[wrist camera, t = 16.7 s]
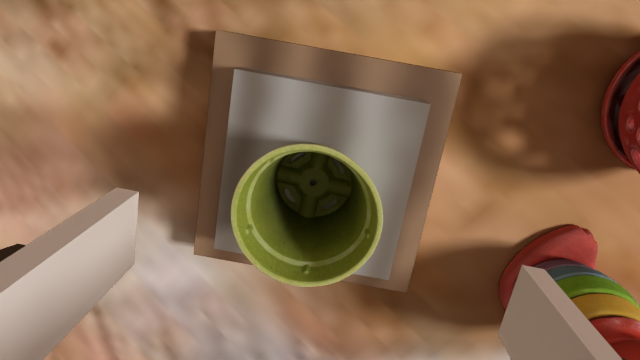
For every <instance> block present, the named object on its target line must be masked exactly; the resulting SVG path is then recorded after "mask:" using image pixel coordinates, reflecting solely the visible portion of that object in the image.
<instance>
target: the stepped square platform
mask: <svg viewBox="0 0 640 360" xmlns="http://www.w3.org/2000/svg"><path fill="white" fill-rule="evenodd" d="M461 78H462V74H460V73H456V72H451V71H446V70H440V69H434V68H429V67H423V66H418V65H412V64H406V63H401V62H395V61H390V60H384V59H378V58H373V57H367V56H362V55H356V54H350V53H345V52H339V51H334V50H328V49H322V48H317V47H311V46H306V45H300V44H294V43H289V42H283V41H278V40H272V39H266V38H261V37H255V36H250V35H244V34H238V33H233V32H227V31H220V30H216V34H215V44H214V54H213V64H212V74H211V84H210V94H209V104H208V115H207V125H206V135H205V145H204V155H203V165H202V175H201V185H200V195H199V205H198V215H197V225H196V235H195V245H194V254H195V255H200V256H206V257H211V258H217V259H222V260H228V261H233V262H239V263H244V264H250V265H253V264H252V263H251V262H250V261H249V259H248V258H247V257H246V256H245V255H244V253H243V252H242V250H241V249H240V247H239V245H238V243H237V241H236V239H235V236H234V233H233V229H232V225H231V204H232V199H233V195H234V192H235V189H236V187H237V184H238V182H239V181H240V179H241V177H242V176H243V174H244V173H245V172H246V170H247V169H248V168H249V167H250V166H251V165H252V164H253V163H254V162H255V161H256V160H258V159H259V158H260V157H262V156H263V155H265V154H266V153H268V152H270V151H272V150H274V149H277V148H279V147H282V146H286V145H291V144H300V143H308V144H321V145H325V146H329V147H331V148H333V149H335V150H337V151H339V152H341V153H343V154H345V155H346V156H348V157H349V158H351V159H352V160H353V161H355V162H356V163H357V164H358V165H359V166H360V167H361V168H362V169H363V170H364V171H365V172H366V173H367V174H368V176H369V177H370V178H371V180H372V182H373V183H374V185H375V187H376V189H377V191H378V194H379V197H380V200H381V204H382V209H383V226H382V232H381V236H380V239H379V241H378V244H377V246H376V248H375V250H374V252H373V254H372V255H371V256H370V258H369V259H368V260H367V261H366V263H365V264H364V265H362V266H361V267H360V268H359V269H358V270H357V271H356V272H354V273H353V274H351V275H350V276H348V277H346V278H344V279H342V280H340V281H344V282H349V283H355V284H360V285H366V286H371V287H377V288H382V289H388V290H393V291H399V292H404V293H407V290H408V286H409V282H410V278H411V274H412V270H413V266H414V262H415V258H416V254H417V250H418V247H419V243H420V239H421V235H422V231H423V227H424V223H425V219H426V215H427V211H428V207H429V203H430V200H431V196H432V192H433V188H434V184H435V180H436V176H437V172H438V168H439V164H440V160H441V156H442V153H443V149H444V145H445V141H446V137H447V133H448V129H449V125H450V121H451V117H452V113H453V109H454V106H455V102H456V98H457V94H458V90H459V86H460V82H461ZM304 155H305V153H302V152H300V153H299V154H297V155H296V156H294V157H293V158H292V159H291V163H293V162H294V161H295V160H297V159H298V158H300V157H302V156H304ZM333 162H334V163H335V164H336V166H337V167H338V169H339V171H340V173H341V174H343V173H344V169H343V167H342V166H341V164H340V162H339V161H338V160H336V159H333ZM310 183H311V185H316V184H317V181H316V180H315V179H314V180H311V182H310ZM285 194H286V196H287V197H288V199H289V200H291V201H292V202H296V201H295V200H294V198H293V197H292V196H291V194H290V192H289V190H288V189H285ZM336 203H337V200H336V199H334V200H333V201H332V202H330V203H329V204H327V205H325V206H323V207H322V209H324V210H325V209H328V208H330V207H331V206H332V205H334V204H336Z"/></svg>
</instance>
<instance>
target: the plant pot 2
mask: <svg viewBox="0 0 640 360" xmlns="http://www.w3.org/2000/svg"><path fill="white" fill-rule="evenodd" d="M601 122H602V129H603V133H604V136H605V139H606V141H607V143H608V145H609V147H610V149H611V150H612V151H613V153H614V154H615V155H616V156H617V157H618V158H619V159H620V160H621V161H623V162H624V163H625V164H627V165H628V166H630V167H632V168H634V169H636V170H637V171H638V172H639V174H640V51H638V52H637V53H636V54H634V55H633V56H632V57H631V58H630V59H629V60H627V61H626V63H625V64H624V65H623V66H622V67H621V68H620V69H619V70H618V72H617V73H616V75H615V76H614V78H613V79H612V81H611V83H610V85H609V87H608V89H607V91H606V94H605V97H604V100H603V105H602V114H601Z"/></svg>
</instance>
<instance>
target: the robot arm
mask: <svg viewBox="0 0 640 360" xmlns="http://www.w3.org/2000/svg"><path fill="white" fill-rule="evenodd" d="M138 197H139V192H138V191H133V190H128V189H122V188H117V187H116V188H115V189H113V190H112V191H110V192H109V193H107V194H105V195H104V196H102V197H101V198H99V199H98V200H96V201H95V202H93V203H91V204H90V205H88V206H87V207H85V208H84V209H82V210H81V211H79V212H77V213H76V214H74V215H73V216H71V217H70V218H68V219H67V220H65V221H63V222H62V223H60V224H59V225H57V226H56V227H54V228H53V229H51V230H49V231H48V232H46V233H45V234H43V235H42V236H40V237H39V238H37V239H35V240H34V241H32V242H31V243H29V244H28V245H21V244H16V245H13V246H10V247H7V248H4V249H1V250H0V360H44V359H45V358H46V357H47V356H48V355H49V353H50V352H51V351H52V350H53V349H54V348H55V347H56V346H57V345H58V344H59V343H60V342H61V341H62V340H63V339H64V338H65V337H66V335H67V334H68V333H69V332H70V331H71V330H72V329H73V328H74V327H75V326H76V325H77V324H78V323H79V322H80V321H81V320H82V319H83V318H84V316H85V315H86V314H87V313H88V312H89V311H90V310H91V309H92V308H93V307H94V306H95V305H96V304H97V303H98V302H99V301H100V300H101V298H102V297H103V296H104V295H105V294H106V293H107V292H108V291H109V290H110V289H111V288H112V287H113V286H114V285H115V284H116V283H117V282H118V281H119V279H120V278H121V277H122V276H123V275H124V274H125V273H126V272H127V271H128V270H129V269H130V268H131V267H132V266H133V265H134V258H135V243H136V228H137V212H138ZM498 335H499V337H500V339H501V341H502V343H503V345H504V347H505V348H506V350H507V352H508V354H509V356H510V358H511V360H626V359H625V358H621V357H620V356H619V355H618V354H617V353H616V352H615V351H614V349H613V348H612V347H611V346H610V345H609V344H608V342H607V341H606V340H605V339H604V338H603V337H602V335H601V334H600V333H599V332H598V331H597V330H596V328H595V327H594V326H593V325H592V324H591V323H590V322H589V320H588V319H587V318H586V317H585V316H584V315H583V313H582V312H581V311H580V310H579V309H578V308H577V306H576V305H575V304H574V303H573V302H572V301H571V300H570V298H569V297H568V296H567V295H566V294H565V293H564V291H563V290H562V289H561V288H560V287H559V286H558V284H557V283H556V282H555V281H554V280H553V279H552V277H551V276H550V275H549V274H548V273H547V272H546V271H545V269H540V268H535V267H530V266H525V265H522V267H521V269H520V272H519V275H518V278H517V281H516V284H515V286H514V289H513V292H512V295H511V298H510V301H509V303H508V306H507V309H506V312H505V315H504V317H503V320H502V323H501V326H500V329H499V332H498Z"/></svg>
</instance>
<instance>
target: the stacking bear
mask: <svg viewBox="0 0 640 360" xmlns="http://www.w3.org/2000/svg"><path fill="white" fill-rule="evenodd" d="M596 256H597V242H596V241H595V240H594V237H593V235H592V233H591V232H590V231H589V230H587V229H584V228H580V227H579V226H577V225H569V226H565V227H562V228H559V229H556V230H553V231H551V232H549V233H547V234H545V235H543V236H541V237H539V238H538V239H536V240H534V241H533V242H531V243H530V244H529V245H527V246H526V247H525V248H524V249H523V250H521V251H520V252H519V253H518V254H517V255H516V256H515V257H514V258H513V260H512V261H511V262H510V263H509V265H508V266H507V268H506V269H505V271H504V272H503V275H502V277H501V280H500V285H499V295H500V300H501V303H502V305H503V307H504V309H505V311H506V309H507V306H508V303H509V301H510V298H511V295H512V292H513V289H514V286H515V284H516V281H517V278H518V275H519V272H520V269H521V267H522V265H525V266H530V267H535V268H540V269H545V271H546V272H547V273H548V274H549V275H550V276H551V277H552V279H553V280H554V281H555V282H556V283H557V284H558V286H559V287H560V288H561V289H562V290H563V291H564V293H565V294H566V295H567V296H568V297H569V298H570V300H571V301H572V302H573V303H574V304H575V305H576V306H577V308H578V309H579V310H580V311H581V312H582V313H583V315H584V316H585V317H586V318H587V319H588V320H589V322H590V323H591V324H592V325H593V326H594V327H595V328H596V330H597V331H598V332H599V333H600V334H601V335H602V337H603V338H604V339H605V340H606V341H607V342H608V344H609V345H610V346H611V347H612V348H613V349H614V351H615V352H616V353H617V354H618V355H619V356H620V357H621V358H625V359H626V360H640V306H639V305H638V304H637V302H636V301H635V300H634V298H633V297H632V296H631V295H630V294H629V293H628V292H627V290H625V289H624V288H623V287H622V286H621V285H619V284H618V283H617V282H615V281H614V280H612V279H611V278H609V277H608V276H606V275H604V274H603V273H601V272H599V271H597V270H595V263H596Z"/></svg>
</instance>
